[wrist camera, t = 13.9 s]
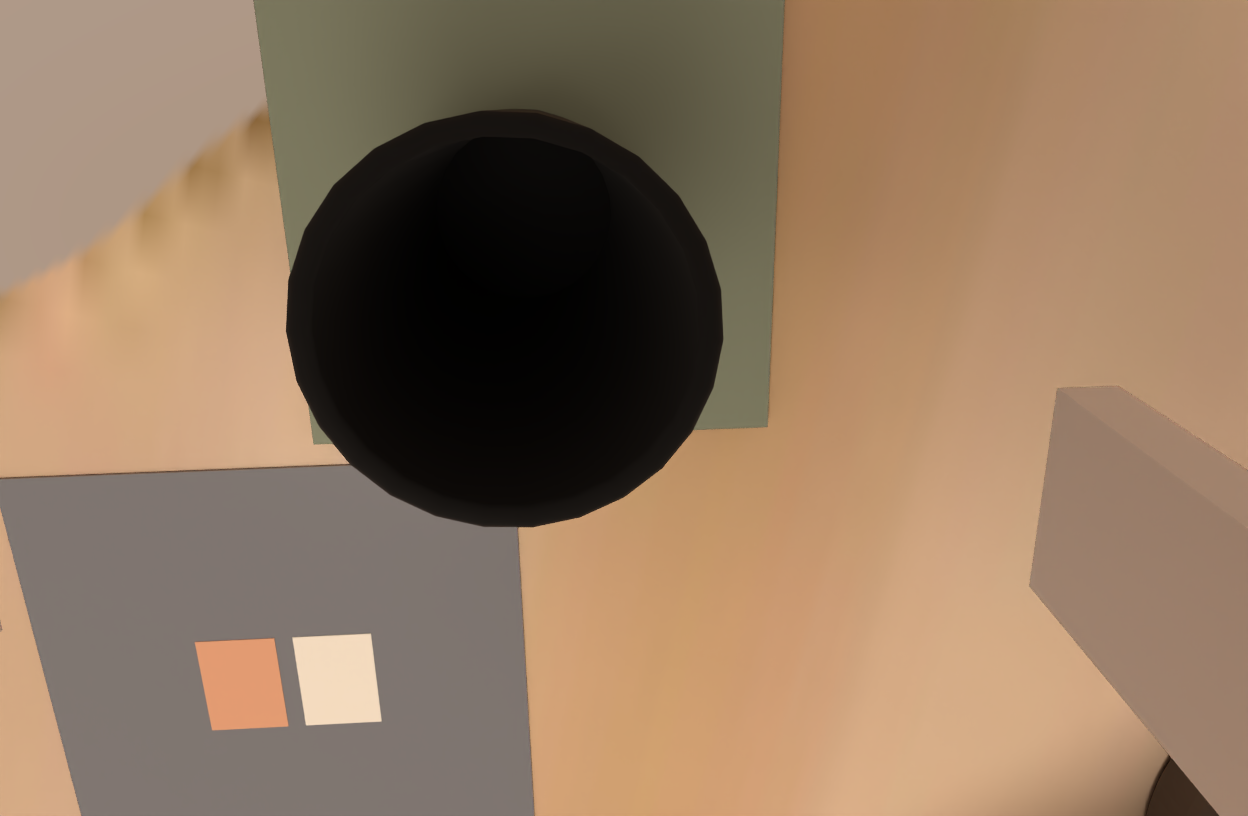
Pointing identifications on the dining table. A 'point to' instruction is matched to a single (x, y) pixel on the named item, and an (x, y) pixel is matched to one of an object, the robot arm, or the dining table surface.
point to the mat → (564, 86)
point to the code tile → (273, 645)
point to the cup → (504, 318)
